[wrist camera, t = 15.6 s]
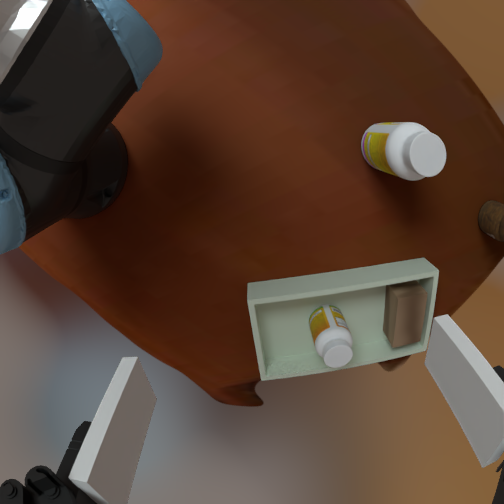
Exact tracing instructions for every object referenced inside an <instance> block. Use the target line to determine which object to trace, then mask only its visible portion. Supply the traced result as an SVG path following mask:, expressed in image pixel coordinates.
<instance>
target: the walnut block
mask: <svg viewBox="0 0 504 504" xmlns="http://www.w3.org/2000/svg"><path fill="white" fill-rule="evenodd" d="M427 294H428V293H427V292H426V290H425V289H424V288H423V287H422V286H421V285H420V284H419V283H418V282H417V281H416V280H412V281H407V282H401V283H396V284H390V285H386V293H385V308H384V321H383V332H384V333H385V335H386V337H387V339H388V340H389V342H390V344H391V346H392V348H394V347H399V346H403V345H407V344H411V343H416V342H420V340H421V334H422V328H423V322H424V316H425V309H426V302H427Z"/></svg>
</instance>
